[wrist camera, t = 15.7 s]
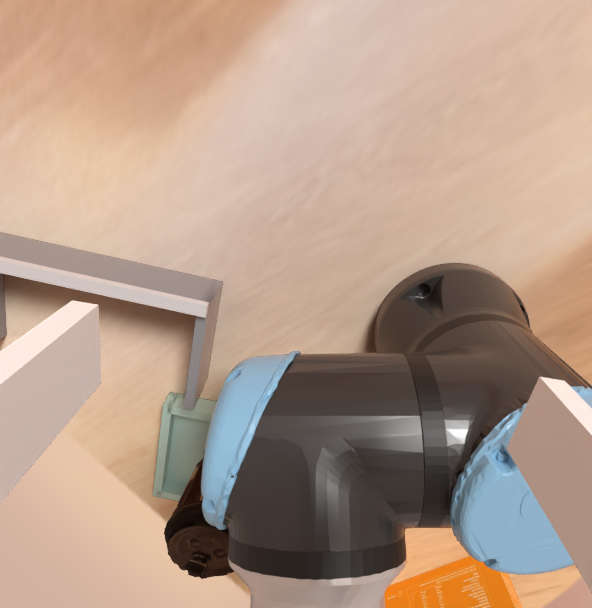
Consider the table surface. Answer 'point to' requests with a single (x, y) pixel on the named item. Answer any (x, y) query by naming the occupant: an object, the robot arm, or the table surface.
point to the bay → (120, 290)
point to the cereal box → (455, 588)
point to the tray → (180, 444)
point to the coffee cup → (196, 535)
